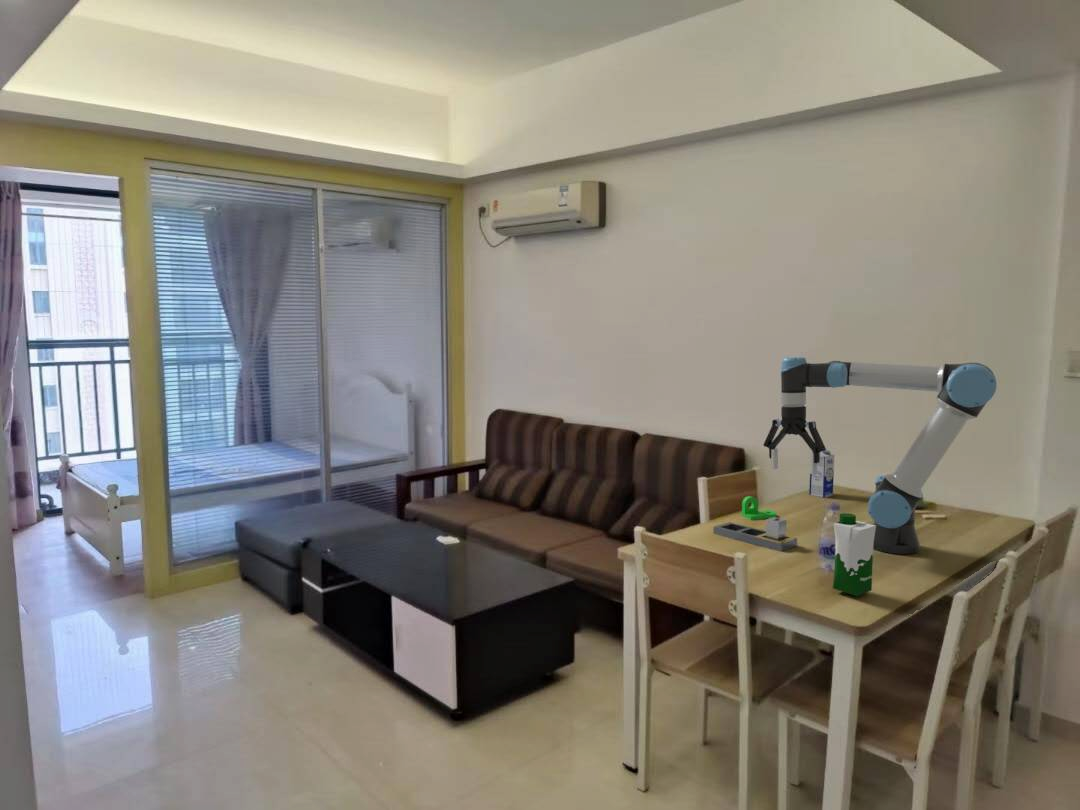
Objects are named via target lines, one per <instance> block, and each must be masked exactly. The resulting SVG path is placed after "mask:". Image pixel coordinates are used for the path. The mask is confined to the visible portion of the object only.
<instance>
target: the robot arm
mask: <svg viewBox="0 0 1080 810" xmlns="http://www.w3.org/2000/svg"><path fill="white" fill-rule="evenodd" d="M780 368H781V369H780V378H781V379H780V381H781V385H780V386H781V387H780V388H781V393H780V394H781V397H780V398H781V400H780V401H781V403H780V405H783V406H781V409H780V411H781V412H780V413H781V414H780V415H781V420H780V419H779V418H776V419H772V422H771V423H772V425H771V428H770V429H769V431H768V433H767V436H766V438H765V441H764V442H763V446H764V447H766V448H768V451H769V452H768V457H769V459H770V460H771V470H776V469H778V468H779V461H778V460H779V455H778V454H779V451H778V450H779V449H778V448H777V446H779V444H780V443H781V441H782V440H783V439H784V438H785V436H787V435H794V436H797V435H798V436H800V438H802V440H803V441H804V443H806V445H807V446H808V447H809V450H810V451H811V450H812V451H813V453H811V452H810V460H811V474H814V473H817V463H819V462H820V452H822V451H825V450H827V449H826V446H825V444H824V442H823V440H822V437H821V435H820V433H819V431H818V428H817V423H816V421H814V420H813V421H807V420H806V418H807V406H805V405H806V404H807V388H833V389H835V388H844V387H846V386H853V387H865V388H866V387H870V388H883V389H895V390H896V389H897V390H910V391H913V390H914V391H925V392H926V391H927V392H937V393H938V394H937V396H936V402H937V406H936V408H935V410H934V411H933V412H932V414H931V415H930V417H929V419H928V420H927V422H926V423H925V425H924V426H923V427H922V429H921V430H920V432H919V433H918V435H917V437H916V439H915V440H914V442H913V443H912V444H911V446H910V447H909V449H908V451H906V453H905V455H904V457H903V458H902V460H901V461H900V462H899V464H898V466H897V467H896V469H895V471H894V472H892V473H888V474H885V475H878V476H877V477H876V479H875V490H874V491H873V492H874V493H873V494H872V495H871V496H870V497H869V499H868V501H867V502H868V503H867V512H868V515H869V516H870V518H871V519H872V521H873V524H872V525H876V529H875V536H874V543H873V550H876V551H880V552H884V553H890V554H898V555H899V554H900V555H906V554H907V555H910V554H915V553H919V552H920V540H919V537H918V533H917V529H916V527H915V526H916V525H915V518H916V507H917V506H918V505H919V503H920V502H921V499H923V497H924V494H923V491H922V489H923V487H924V486H925V484H926V482H927V481H928V479H929V478H930V477H931V476H932V474H933V472H934V470H935V469H936V467H937V466H938V464H939V463H940V461H941V460H942V459H943V457H944V456H945V454H946V453H947V452H948V451H949V448H950V447H951V445H952V444H953V443H954V441H955V439H956V438H957V436H958V435H959V434H960V432H961V431H962V429H963V428H964V426H965V425H966V423H967V422H968V421H969V420H973V419H976V418H978V416H979V414H980V413H981V412H982V410H983V409H984V407H985V406H986V404H987V403H989V401H990V400H991V399H992V398H993V397H994V395H995V393H996V390H997V379H996V376H995V374H994V371H992V369H990V367H989V366H987V365H985V364H982V363H979V362H964V363H943V364H941V365H940V366H930V365H928V366H927V365H914V364H913V365H910V364H909V365H907V364H893V363H891V364H890V363H889V364H888V363H873V362H872V363H871V362H870V363H869V362H855V361H854V362H849V361H848V362H847V361H840V360H832V361H828V362H823V363H822V362H819V363H808V362H807V359H806V357H805V356H803V357H802V356H799V357H795V356H794V357H791V356H790V357H784V358H782V360H781V367H780ZM779 427H782V429H781V430H780V431H779V433H778V435H776V434H777V432H778V430H779ZM806 428H808V430H809V432H808V430H807V429H806ZM809 433H810V435H811V436H810V435H809Z"/></svg>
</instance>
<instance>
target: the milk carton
mask: <svg viewBox="0 0 1080 810" xmlns="http://www.w3.org/2000/svg"><path fill="white" fill-rule="evenodd" d="M811 453H813V451H812V450H811V449H810V454H811ZM834 474H835V454H834V453H832V452H831V451H830V450H828V449H826V450H825V451H822V452H820V462H819V463H817V473H814V474H811V459H810V464H809V492H808V494H809V496H811V497H818V498H823V499H825V498H829V497H832V496H834Z"/></svg>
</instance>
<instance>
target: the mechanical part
mask: <svg viewBox="0 0 1080 810" xmlns="http://www.w3.org/2000/svg"><path fill="white" fill-rule="evenodd" d="M750 503H751V505H750V506H749V504H750ZM741 517H744V518H745V519H747V520H750V521H753V520H755V521H756V520H763V519H764V520H766V518H768V519H769V518H772V517H776V518H777V512H775V511H774V510H772V509H767V510H765V509H764V510H759V501H758V499H757V498H756V497H753V496H751V495H748V496H745V497H744V498H743V500H742V502H741Z"/></svg>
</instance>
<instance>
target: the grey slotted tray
mask: <svg viewBox="0 0 1080 810" xmlns="http://www.w3.org/2000/svg"><path fill="white" fill-rule="evenodd" d="M712 529H713V530H712V531H713V532H712V533H713V534H714V535H718V536H721V537H725V538H727V539H730V540H731V539H732V540H735V541H739V542H743V543H748V544H751V545H755V546H759V547H763V548H766V549H770V550H774V551H778V552H783V551H786V550H789V549H792V548H795V547H797V546H798V537H796V536H791V535H787V534H786V539H784V540H781V541H776V540H772V539H768V538H766V530H765V529H759V528H756V527H750V526H747V525H743V524H739V523H735V522H731V521H730V522H725V523H721V524H718V525H715V526H713V528H712Z"/></svg>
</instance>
